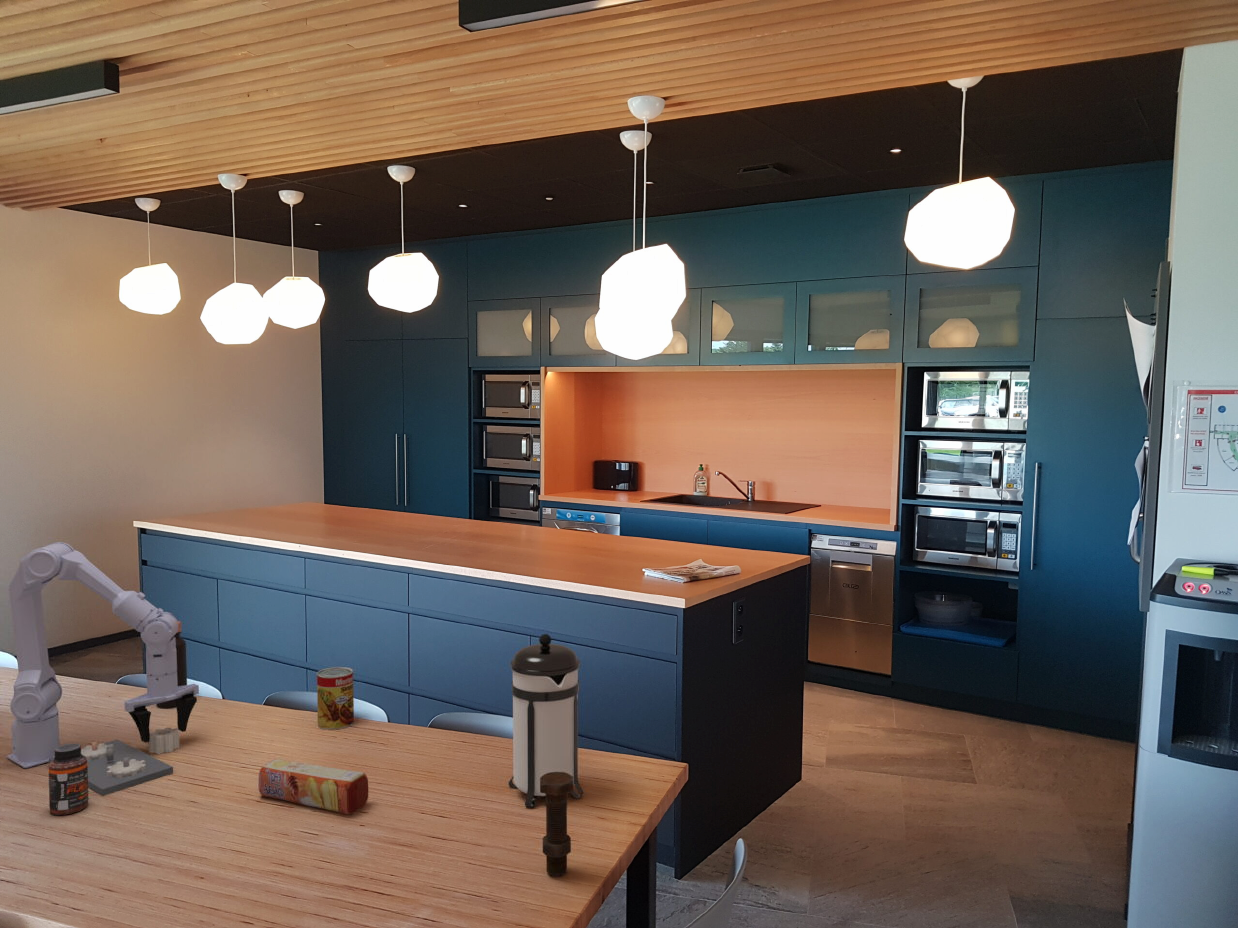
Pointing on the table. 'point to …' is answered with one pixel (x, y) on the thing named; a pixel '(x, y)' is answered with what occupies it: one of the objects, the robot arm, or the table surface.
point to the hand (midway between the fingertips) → (164, 735)
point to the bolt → (556, 821)
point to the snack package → (314, 785)
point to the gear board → (120, 766)
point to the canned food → (335, 698)
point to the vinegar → (178, 666)
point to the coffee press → (544, 716)
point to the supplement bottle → (68, 780)
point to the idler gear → (163, 740)
